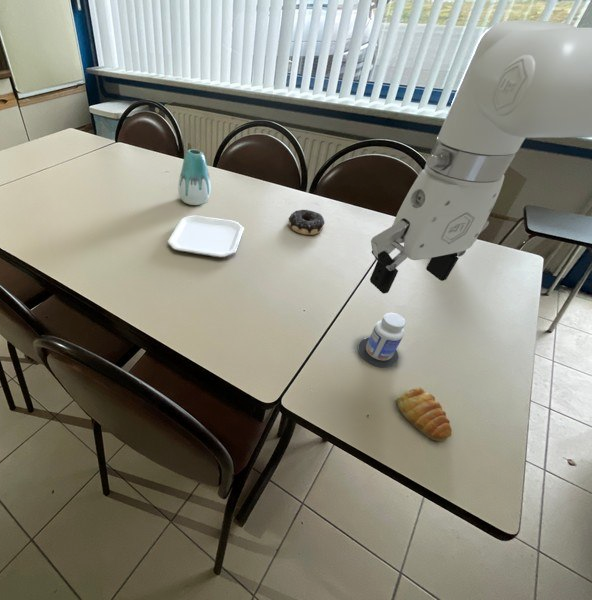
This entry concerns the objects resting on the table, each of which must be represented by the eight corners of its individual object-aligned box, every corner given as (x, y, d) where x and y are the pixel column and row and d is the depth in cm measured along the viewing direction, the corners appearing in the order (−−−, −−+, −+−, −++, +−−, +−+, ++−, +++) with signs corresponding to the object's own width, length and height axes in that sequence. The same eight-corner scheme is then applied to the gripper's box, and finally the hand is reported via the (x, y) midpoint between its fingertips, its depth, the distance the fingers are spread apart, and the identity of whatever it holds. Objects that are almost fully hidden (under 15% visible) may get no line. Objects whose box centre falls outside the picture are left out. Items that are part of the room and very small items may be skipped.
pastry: (458, 436, 64) (468, 425, 62) (427, 447, 63) (436, 436, 60) (418, 393, 71) (426, 381, 69) (389, 402, 70) (396, 390, 67)
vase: (215, 197, 134) (217, 147, 122) (202, 211, 126) (203, 159, 114) (186, 191, 138) (186, 142, 126) (172, 204, 130) (170, 153, 118)
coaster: (405, 362, 77) (407, 361, 76) (373, 371, 75) (374, 369, 75) (380, 336, 82) (381, 334, 82) (350, 343, 81) (351, 341, 80)
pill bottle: (395, 350, 78) (413, 317, 72) (387, 365, 75) (405, 333, 69) (369, 338, 81) (385, 306, 75) (361, 352, 78) (376, 320, 71)
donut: (319, 219, 122) (322, 208, 120) (325, 237, 113) (329, 226, 111) (286, 217, 123) (288, 206, 120) (289, 236, 114) (292, 224, 112)
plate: (184, 219, 122) (184, 213, 121) (245, 228, 118) (246, 221, 116) (163, 252, 107) (163, 246, 106) (233, 264, 103) (233, 257, 101)
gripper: (429, 183, 36) (372, 310, 47) (558, 164, 40) (477, 286, 51) (379, 157, 41) (339, 276, 53) (497, 142, 45) (436, 256, 57)
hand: (407, 280), depth 52 cm, fingers open, 9 cm apart
